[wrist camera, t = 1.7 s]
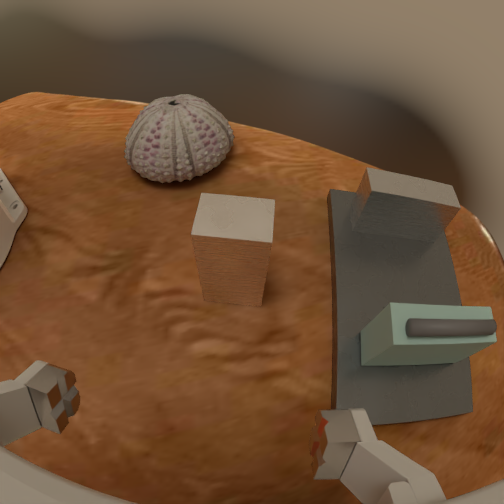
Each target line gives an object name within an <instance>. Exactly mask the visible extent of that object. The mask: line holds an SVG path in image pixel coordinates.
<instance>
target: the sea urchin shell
mask: <svg viewBox="0 0 504 504" xmlns="http://www.w3.org/2000/svg"><path fill="white" fill-rule="evenodd" d="M232 133H233V130H232V129H231V126H230V125H229V124H228V120H227V119H225V117H224V116H223V115H222V114H221V113H220V112H219V111H217V110H216V109H215V108H214V107H212V106H211V105H210V104H209V103H208V102H207V101H204V99H203V98H202V99H201V98H200V99H199V97H195V96H192V95H190V94H189V95H188V94H185V95H183V94H180V95H178V96H174V97H163V98H159V99H156V100H154V101H153V102H151V103H150V104H149V105H148V106H146V107H144V110H141V111H140V114H139V115H138V117H137V119H136V120H135V121H134V123H133V125H132V127H131V128H130V131H129V134H128V135H127V137H126V138H125V139H126V143H125V145H126V149H125V151H124V152H125V153H126V154H125V156H124V158H126V159H127V163H128V165H131V169H133V170H136V172H138V173H140V175H141V177H144V178H148V179H149V180H151V181H159V182H161V183H164V182H168V183H170V182H172V181H175V180H177V181H179V182H182V181H183V180H185V179H188V180H191V179H192V178H193V177H194V176H202V175H203V173H208V171H209V170H212V168H214V167H217V166H218V164H219V165H220V163H221V161H223V160H224V159H225V158H226V154H227V153H228V152H229V151H231V149H230V147H232V146H233V140H234V139H233V138H234V135H233V134H232Z"/></svg>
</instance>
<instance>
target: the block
mask: <svg viewBox="0 0 504 504" xmlns="http://www.w3.org/2000/svg"><path fill="white" fill-rule="evenodd" d="M274 209H275V200H272V199H263V198H253V197H243V196H232V195H220V194H209V193H201V197H200V200H199V204H198V208H197V212H196V216H195V220H194V224H193V228H192V232H191V238H192V243H193V248H194V253H195V258H196V263H197V268H198V273H199V278H200V283H201V287H202V292H203V297H204V300H205V301H213V302H222V303H230V304H240V305H249V306H259V307H261V302H262V297H263V291H264V286H265V280H266V275H267V269H268V264H269V258H270V253H271V247H272V239H273V224H274Z"/></svg>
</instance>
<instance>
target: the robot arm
mask: <svg viewBox="0 0 504 504" xmlns="http://www.w3.org/2000/svg"><path fill="white" fill-rule="evenodd" d="M27 212H28V209H27V207H26V206H25V204H24V203H23V201H22V200H21V198H20V197H19V195H18V194H17V192H16V191H15V189H14V188H13V186H12V185H11V183H10V182H9V180H8V178H7V177H6V175H5V174H4V172H3V171H2V169H1V168H0V267H1V266H2V264H3V262H4V261H5V259H6V257H7V255H8V253H9V250H10V248H11V245H12V242H13V239H14V235H15V233H16V231H17V229H18V227H19V226H20V224H21V223H22V221H23V220H24V218H25V217H26V215H27ZM75 383H76V378H75V374H74V373H73V372H72V371H70V370H67V369H64V368H61V367H58V366H56V365H53V364H49V363H47V362H44V361H41V360H37V361H35V362H34V363H33V364H32V365H31V366H30V367H28V368H27V369H26V370H25V371H24V372H23V373H22V374H20V375H19V376H18V377H17V378H16V379H15V380H14V381H13V380H11V379H10V380H7V381H3V382H0V504H138V503H134V502H130V501H127V500H124V499H120V498H117V497H114V496H111V495H108V494H105V493H102V492H99V491H96V490H93V489H91V488H88V487H85V486H83V485H80V484H77V483H75V482H72V481H70V480H68V479H65V478H63V477H61V476H58V475H56V474H54V473H52V472H49V471H47V470H45V469H43V468H41V467H39V466H37V465H35V464H33V463H31V462H29V461H27V460H25V459H23V458H21V457H20V456H18V455H16V454H14V453H12V452H11V451H9V450H7V449H5V447H4V446H5V445H7V444H9V443H11V442H13V441H15V440H18V439H20V438H22V437H24V436H26V435H28V434H30V433H32V432H34V431H36V430H38V429H40V428H41V427H44V428H46V429H49V430H51V431H54V432H56V433H59V434H61V433H62V431H63V430H64V429H65V427H66V426H67V424H68V423H69V421H68V417H71V416H73V415H75V414H76V412H77V411H78V408H79V405H80V395H79V391H78V390H77V388H76V387H75V386H74V384H75ZM315 422H316V425H315V426H314V427H313V428H312V430H311V434H310V440H309V451H310V455H311V456H312V457H313V461H312V464H311V465H312V471H313V478H314V479H340V481H341V482H342V483H343V484H344V485H345V486H346V487H347V488H348V489H349V490H350V491H351V492H352V493H353V494H354V495H355V496H356V497H357V498H358V499H359V501H360V502H361V503H362V504H504V479H502V480H499V481H497V482H495V483H492V484H490V485H487V486H485V487H482V488H480V489H477V490H475V491H472V492H469V493H466V494H463V495H460V496H457V497H454V498H451V499H448V500H447V499H446V497H445V495H444V493H443V491H442V489H441V487H440V485H439V483H438V481H437V479H436V477H435V475H434V473H432V472H430V471H429V470H427V469H425V468H424V467H422V466H421V465H419V464H417V463H416V462H414V461H413V460H411V459H410V458H408V457H406V456H405V455H403V454H402V453H400V452H399V451H397V450H396V449H394V448H393V447H391V446H390V445H388V444H387V443H385V442H384V441H382V440H381V441H378V440H377V437H376V435H375V432H374V430H373V427H372V425H371V422H370V420H369V418H368V415H367V413H366V410H365V409H363V408H357V409H318V411H317V413H316V416H315Z"/></svg>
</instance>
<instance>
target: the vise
mask: <svg viewBox="0 0 504 504" xmlns="http://www.w3.org/2000/svg"><path fill="white" fill-rule="evenodd" d="M327 203H328V217H329V233H330V251H331V275H332V319H333V353H332V396H331V409H357V408H363V409H365V410H366V413H367V415H368V418H369V420H370V422H371V425H384V424H396V423H406V422H415V421H423V420H430V419H437V418H443V417H450V416H455V415H461V414H466V413H470V412H473V403H472V384H471V371H470V360H469V357H467V358H465V359H463V360H461V361H458V362H456V363H444V364H425V365H390V366H361V330H362V329H363V328H364V327H365V326H367V325H368V324H369V323H370V322H371V321H372V320H373V319H374V318H375V317H376V316H377V315H378V314H379V313H380V312H381V311H382V310H383V309H384V308H385V307H386V306H387V305H388V304H389V303H390V302H391V303H408V304H427V305H449V306H462V304H461V299H460V294H459V289H458V284H457V279H456V275H455V271H454V266H453V262H452V258H451V254H450V250H449V247H448V243H447V239H446V236H445V232H444V230H445V228H446V227H447V226H448V224H449V223H450V222H451V220H452V219H453V218H454V217H455V215H456V214H457V213H458V211H459V210H460V209H461V207H460V204H459V202H458V199H457V196H456V194H455V191H454V189H453V186H451V185H447V184H443V183H439V182H435V181H430V180H425V179H421V178H417V177H412V176H407V175H403V174H398V173H393V172H388V171H383V170H378V169H372V168H366V170H365V173H364V175H363V178H362V180H361V183H360V185H359V187H358V190H357V192H356V193H354V192H348V191H341V190H334V189H330V191H329V194H328V197H327Z"/></svg>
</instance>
